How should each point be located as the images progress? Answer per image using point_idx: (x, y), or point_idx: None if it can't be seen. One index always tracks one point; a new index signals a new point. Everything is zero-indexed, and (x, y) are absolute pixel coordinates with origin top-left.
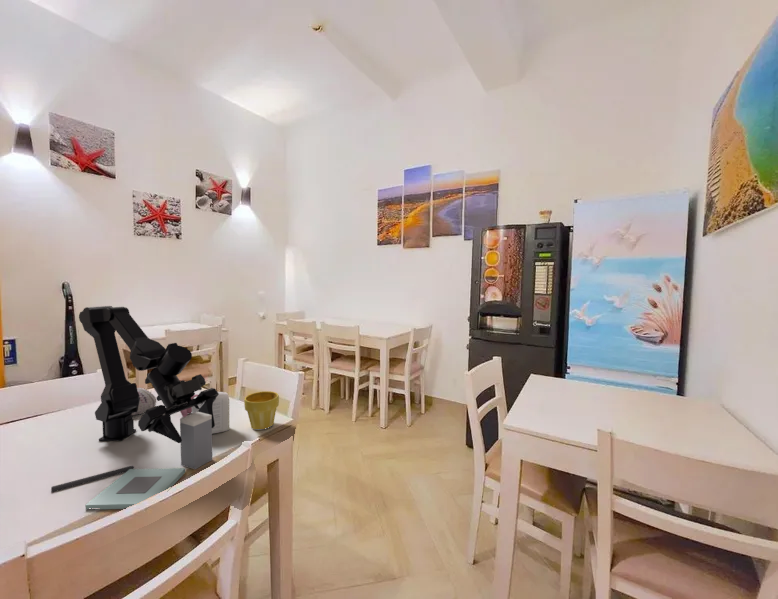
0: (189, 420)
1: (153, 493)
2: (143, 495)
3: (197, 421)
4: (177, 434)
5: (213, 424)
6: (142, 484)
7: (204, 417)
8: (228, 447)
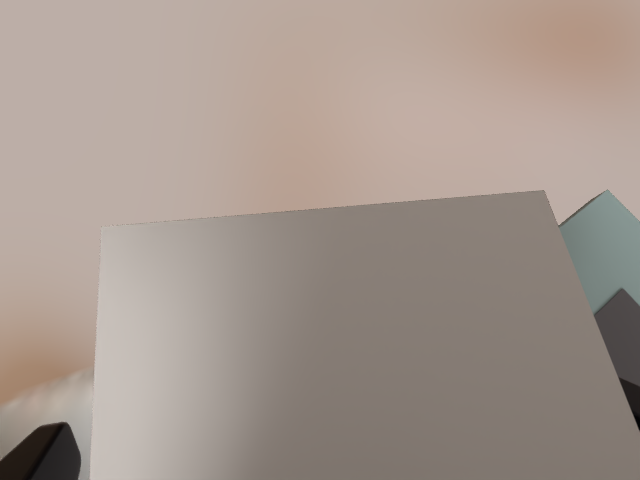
0: (583, 354)
1: (592, 251)
2: (629, 275)
3: (460, 201)
4: (625, 390)
5: (47, 437)
6: (627, 380)
7: (290, 226)
8: (30, 428)
